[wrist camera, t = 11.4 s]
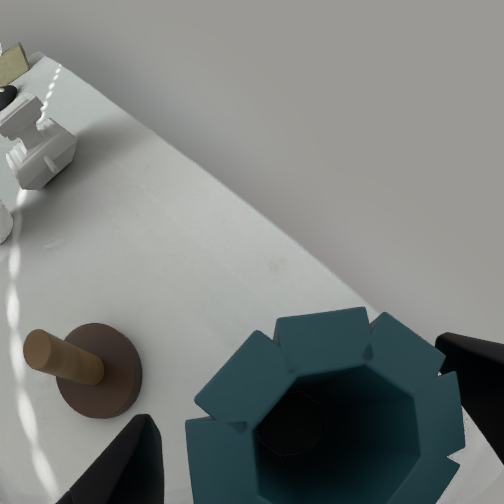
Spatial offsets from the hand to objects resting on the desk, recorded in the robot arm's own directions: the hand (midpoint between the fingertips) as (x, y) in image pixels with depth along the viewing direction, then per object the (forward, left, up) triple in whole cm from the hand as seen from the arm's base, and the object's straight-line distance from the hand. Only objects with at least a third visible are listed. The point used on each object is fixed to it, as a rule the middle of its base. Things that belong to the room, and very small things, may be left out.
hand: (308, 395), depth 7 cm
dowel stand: (+5, +9, -7) cm, 13 cm away
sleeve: (-1, 0, -7) cm, 8 cm away
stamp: (+26, +12, -8) cm, 29 cm away
